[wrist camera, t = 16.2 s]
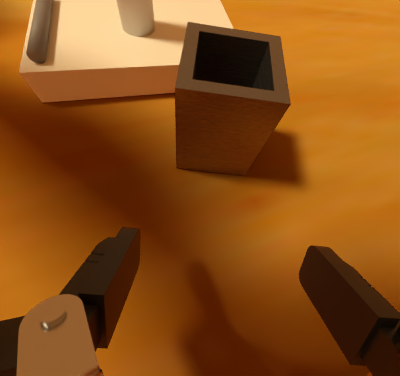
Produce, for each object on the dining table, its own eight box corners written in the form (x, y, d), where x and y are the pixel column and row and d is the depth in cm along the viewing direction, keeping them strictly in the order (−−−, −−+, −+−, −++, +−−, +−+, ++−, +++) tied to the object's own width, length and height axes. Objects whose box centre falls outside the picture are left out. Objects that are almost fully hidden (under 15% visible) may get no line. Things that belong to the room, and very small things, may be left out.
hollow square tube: (244, 176, 18) (290, 104, 10) (176, 167, 17) (174, 87, 10) (243, 123, 20) (280, 36, 13) (184, 116, 20) (187, 21, 12)
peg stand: (42, 102, 19) (-87, -63, 10) (51, 27, 23) (-30, -132, 14) (240, 87, 22) (283, -44, 13) (214, 25, 27) (232, -104, 18)
